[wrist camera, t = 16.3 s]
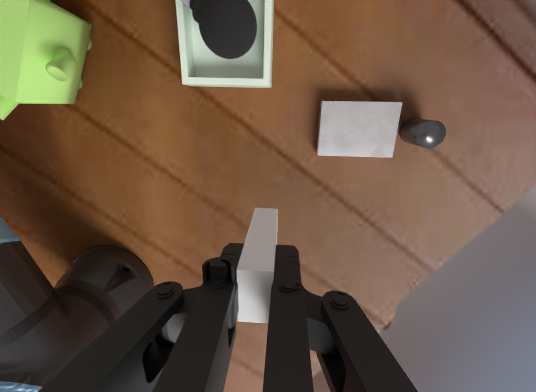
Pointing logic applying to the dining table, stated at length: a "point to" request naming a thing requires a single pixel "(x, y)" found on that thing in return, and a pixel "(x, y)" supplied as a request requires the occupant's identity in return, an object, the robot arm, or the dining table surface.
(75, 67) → the kettle
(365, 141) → the white stone flat block
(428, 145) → the cylinder
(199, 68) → the tray
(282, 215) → the dining table surface
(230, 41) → the light bulb
